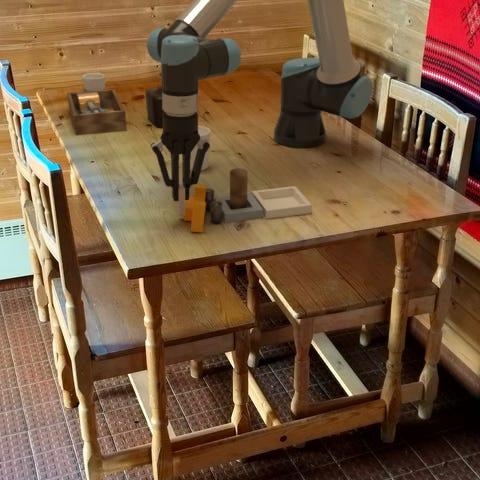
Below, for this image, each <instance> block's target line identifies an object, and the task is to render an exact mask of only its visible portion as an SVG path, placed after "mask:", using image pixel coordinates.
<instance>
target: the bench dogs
mask: <svg viewBox="0 0 480 480" xmlns="http://www.w3.org/2000/svg"><path fill="white" fill-rule="evenodd" d="M205 202H206V207H205V212H210V215H209V216H210V217H209V218H210V223H211V224H214V225H220V224H222V223H223V218H222V203H221V202H220V201H215V190H214V189H213V188H206V195H205Z"/></svg>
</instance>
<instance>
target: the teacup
mask: <svg viewBox="0 0 480 480" xmlns="http://www.w3.org/2000/svg"><path fill="white" fill-rule="evenodd" d="M82 83H83V87H84V89H85V91H96V90H105V88H106V74H104V73H103V72H102V73H101V72H88V73H85V74H83V75H82Z"/></svg>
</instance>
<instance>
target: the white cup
mask: <svg viewBox="0 0 480 480" xmlns="http://www.w3.org/2000/svg"><path fill="white" fill-rule="evenodd" d="M198 133H199V135H200V138H202V139H203V140H207V141H208V143H209V144H210V143H211V130H210V128H208V127H206V126H202V125H198ZM197 145H198V143H197ZM197 145H196V146H195V147H194V149H193V150H192V152H191V158H190V172H192V169H193V165H194V161H195V157H196V153H197V149H198V146H197ZM210 145H211V144H210ZM210 148H211V146H210V147H209V149H208V150H207V152H206V153H205V157H204V161H203V164H202V168H201V171H205V170H207V169H208V168H209V160H210V150H211V149H210Z"/></svg>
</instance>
